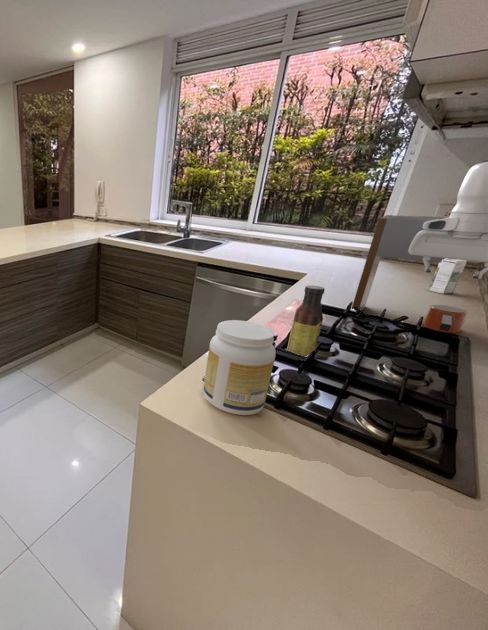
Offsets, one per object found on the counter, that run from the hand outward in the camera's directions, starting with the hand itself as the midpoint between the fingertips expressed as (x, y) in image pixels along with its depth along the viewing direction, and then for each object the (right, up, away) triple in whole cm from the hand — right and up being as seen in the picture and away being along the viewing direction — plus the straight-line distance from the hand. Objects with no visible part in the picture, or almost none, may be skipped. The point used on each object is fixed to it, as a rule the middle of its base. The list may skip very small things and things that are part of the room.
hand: (451, 275), depth 94 cm
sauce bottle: (-44, -23, -2) cm, 50 cm away
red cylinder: (+10, -17, +12) cm, 23 cm away
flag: (+6, -12, +25) cm, 29 cm away
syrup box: (+56, -1, +53) cm, 77 cm away
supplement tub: (-71, -30, -20) cm, 80 cm away
